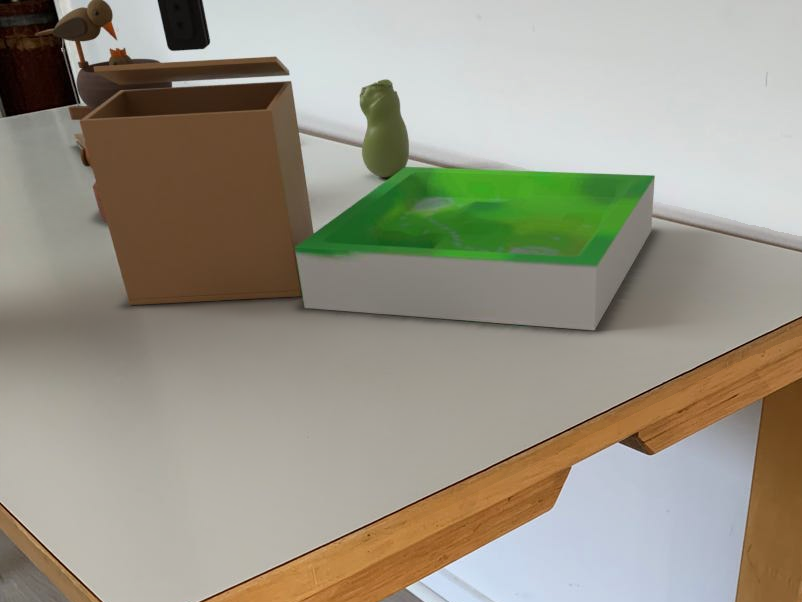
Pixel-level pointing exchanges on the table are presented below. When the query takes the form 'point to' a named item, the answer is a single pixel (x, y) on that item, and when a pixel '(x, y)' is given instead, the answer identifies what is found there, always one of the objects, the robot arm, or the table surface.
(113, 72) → the flap
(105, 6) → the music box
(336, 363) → the table surface
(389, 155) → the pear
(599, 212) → the green flat square box
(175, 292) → the carton
